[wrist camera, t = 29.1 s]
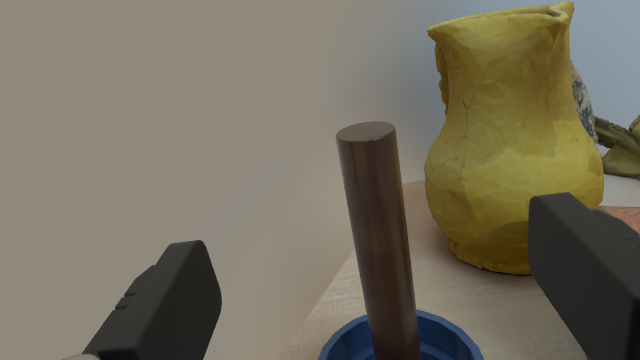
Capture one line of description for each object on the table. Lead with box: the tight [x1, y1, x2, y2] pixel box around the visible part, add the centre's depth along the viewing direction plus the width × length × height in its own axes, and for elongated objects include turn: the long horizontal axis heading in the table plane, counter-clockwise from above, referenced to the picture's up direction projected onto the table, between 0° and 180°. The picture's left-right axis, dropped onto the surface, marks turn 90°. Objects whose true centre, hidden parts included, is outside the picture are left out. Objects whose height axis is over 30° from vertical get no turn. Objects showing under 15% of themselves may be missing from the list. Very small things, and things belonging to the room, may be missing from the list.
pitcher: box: [424, 1, 604, 275], centre depth 43 cm, size 17×19×25 cm
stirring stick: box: [336, 121, 422, 360], centre depth 25 cm, size 3×3×22 cm
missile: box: [594, 115, 640, 176], centre depth 56 cm, size 7×25×7 cm, turn 9°
